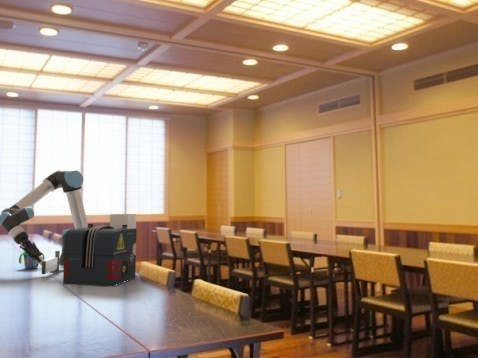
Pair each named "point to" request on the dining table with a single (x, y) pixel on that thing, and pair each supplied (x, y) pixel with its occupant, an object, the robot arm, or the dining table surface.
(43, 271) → the swing panel
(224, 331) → the dining table surface
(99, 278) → the power unit
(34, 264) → the snack cup
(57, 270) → the panel post
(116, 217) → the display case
